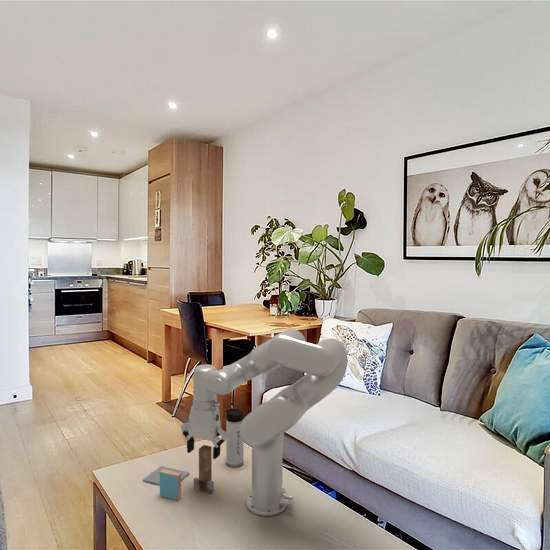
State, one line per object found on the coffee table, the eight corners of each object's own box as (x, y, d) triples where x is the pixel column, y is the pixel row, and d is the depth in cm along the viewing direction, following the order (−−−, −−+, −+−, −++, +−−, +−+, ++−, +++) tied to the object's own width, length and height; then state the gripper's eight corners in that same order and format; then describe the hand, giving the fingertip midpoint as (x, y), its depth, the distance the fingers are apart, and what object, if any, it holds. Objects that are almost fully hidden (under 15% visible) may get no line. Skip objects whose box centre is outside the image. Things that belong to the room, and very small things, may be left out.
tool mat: (189, 474, 150) (189, 472, 150) (172, 488, 140) (172, 487, 140) (161, 467, 154) (161, 466, 154) (142, 481, 145) (142, 479, 145)
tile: (181, 497, 135) (181, 473, 135) (177, 500, 134) (177, 476, 133) (162, 493, 138) (162, 469, 138) (159, 496, 136) (159, 471, 136)
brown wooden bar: (216, 489, 141) (216, 447, 140) (212, 493, 138) (212, 451, 137) (198, 484, 143) (198, 443, 142) (193, 489, 140) (193, 447, 140)
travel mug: (227, 458, 161) (227, 406, 160) (244, 459, 160) (245, 407, 159) (223, 466, 155) (223, 412, 154) (241, 468, 154) (241, 414, 153)
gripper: (233, 404, 139) (232, 454, 140) (188, 395, 146) (187, 444, 147) (222, 412, 132) (220, 465, 133) (175, 402, 139) (174, 453, 140)
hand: (203, 454), depth 140 cm, fingers open, 9 cm apart
